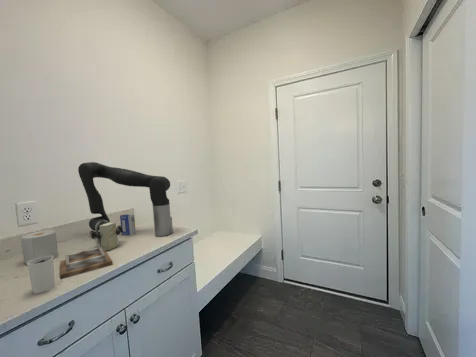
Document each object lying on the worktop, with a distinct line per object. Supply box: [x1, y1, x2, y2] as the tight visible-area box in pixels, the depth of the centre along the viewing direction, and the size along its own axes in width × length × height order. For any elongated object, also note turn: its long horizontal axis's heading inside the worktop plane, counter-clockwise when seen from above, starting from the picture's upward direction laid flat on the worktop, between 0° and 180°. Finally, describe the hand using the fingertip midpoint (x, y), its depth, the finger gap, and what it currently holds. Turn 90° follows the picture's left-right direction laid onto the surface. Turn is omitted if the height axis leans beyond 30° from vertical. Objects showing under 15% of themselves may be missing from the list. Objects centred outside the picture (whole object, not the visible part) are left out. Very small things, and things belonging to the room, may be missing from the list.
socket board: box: [59, 246, 114, 280], centre depth 96 cm, size 17×17×4 cm
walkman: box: [119, 214, 137, 236], centre depth 136 cm, size 8×3×12 cm, turn 74°
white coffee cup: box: [26, 256, 56, 294], centre depth 78 cm, size 7×7×10 cm
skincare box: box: [99, 222, 119, 251], centre depth 113 cm, size 6×4×12 cm
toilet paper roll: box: [21, 229, 59, 266], centre depth 105 cm, size 12×12×12 cm
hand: (109, 234), depth 112 cm, fingers closed on skincare box, 7 cm apart
